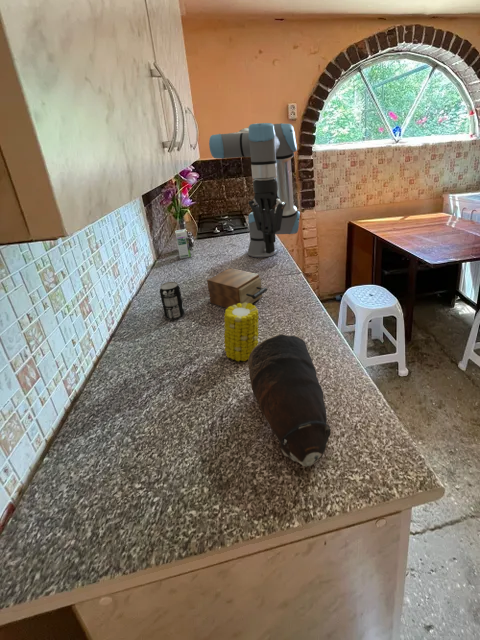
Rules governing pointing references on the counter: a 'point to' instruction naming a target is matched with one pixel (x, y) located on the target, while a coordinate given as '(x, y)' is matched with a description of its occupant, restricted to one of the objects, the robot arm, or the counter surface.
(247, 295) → the drawer
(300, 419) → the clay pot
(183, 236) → the syrup box
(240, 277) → the cabinet
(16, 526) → the counter surface
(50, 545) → the counter surface
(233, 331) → the food
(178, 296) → the beverage can
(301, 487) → the counter surface
